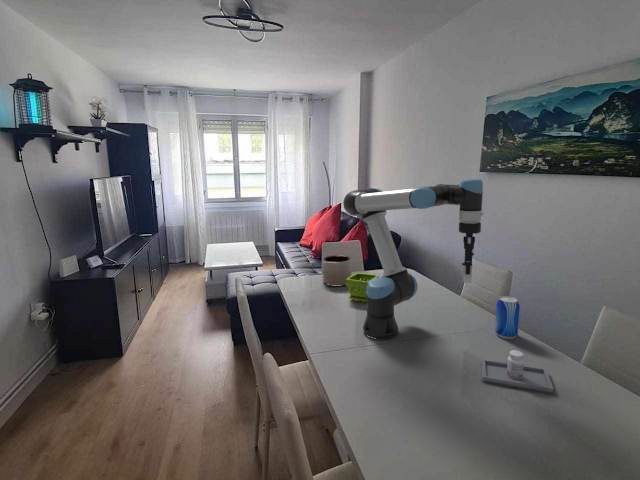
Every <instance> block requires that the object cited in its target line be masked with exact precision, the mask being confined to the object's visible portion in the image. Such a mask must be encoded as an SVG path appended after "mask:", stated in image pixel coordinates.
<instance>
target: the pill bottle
mask: <svg viewBox="0 0 640 480" xmlns="http://www.w3.org/2000/svg"><path fill="white" fill-rule="evenodd" d="M508 355H509V356H508V357H507V363H508V364H507V375H508V376H509V377H510V378H512V379H516V380H520V379H522V378H523V368H524V365H525V360H524V353H523V352H522V351H520V350H517V349H513V350H510V351H509V354H508Z"/></svg>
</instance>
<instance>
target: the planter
mask: <svg viewBox="0 0 640 480" xmlns="http://www.w3.org/2000/svg"><path fill="white" fill-rule="evenodd" d="M352 275H353V274H352V258H351V257H350V256H348V255H343V254H342V255H341V254H336V255H328V256H325V257H323V258H322V277H323V279H322V281H323V284H325V283H326V284H329V285H345V286H347V285H346V279H347V278H349V277H350V276H352ZM326 284H325V285H326ZM329 285H328V286H329Z"/></svg>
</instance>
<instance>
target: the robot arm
mask: <svg viewBox="0 0 640 480" xmlns="http://www.w3.org/2000/svg"><path fill="white" fill-rule="evenodd" d="M483 184H484V182H483V180H481V179H478V178H472V179H471V178H469V179H468V178H467V179H461V180H460V183H459V184H445V183H444V184H443V183H439V184H433V185H430V186H421V187H420V186H419V187H416V188H415V187H413V188H405V189H395V190H387V191H386V190H385V191H383V190H382V189H379V188H373V187H372V188H371V187H370V188H365V189H363V188H362V189H356V190H350V192H348V193H346V195H345V196H344V198H343V204H342V205H343V209H344V210H345V212H346V213H347V214H348V215H350V216H353V217H358V216H360V217H361V219H362V222H364V223H366V225H367V227H368V229H369V234H370V235H371V238H372V242H373V243H374V247H375V250H376V253H377V255H378V258H379V262H380V264H381V268H382V270H383V274H382V276H381V277H379V278H374V279H372V280H370V281H369V282H368V284H367V290H366V295H367V303H366V316H365V319H364V322H363V325H362V332H363V331H364V333H365V334H366V335H368V336H370V337H373V338H376V339H388V340H391V339H390V338H392V339H394V338H396V337H397V336H398V334H399V327H398V322H397V321H396V317H395V306H396V305H399V304H401V303H403V302H406V301H409V300H410V299H411V298H413V297H414V296H415V295H416V293H417V292H418V282H417V279H416V277H415V276H414V275H413V274H412V273H409V271H408V269H407V268H406V267H404V266H403V265H402V262H401V260H400V257H399V254H398V251H397V248H396V245H395V242H394V239H393V236H392V234H391V230H390V227H389V225H388V223H387V222H388V221H387V218H386V215H387V211H393V210H394V211H395V210H409V209H410V210H411V209H420V210H421V209H422V210H426V209H429V208H433V207H439V206H445V205H453V206H454V205H455V206H459V211H458V221H459V222H458V232H459V233H461V234H465V236H463V240H462V241H463V249H464V260H463V261H464V262H462V264H461V266H463V277H462V278H463V280H462V281H463V283H466V284H472V277H473V276H472V275H473V257H474V255H475V254H474V252H473V251H474V249H475V243H476V236H474V234H479V233H481V231H482V222H481V221H482V216H484V212H482V210H483V208H482V207H483V195H484V188H483V187H484V185H483ZM364 333H363V334H364ZM366 335H365V336H366ZM393 337H394V338H393ZM376 339H375V340H376Z"/></svg>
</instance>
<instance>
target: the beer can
mask: <svg viewBox="0 0 640 480" xmlns="http://www.w3.org/2000/svg"><path fill="white" fill-rule="evenodd" d="M518 301H519V300H518V299H517V298H516V297H513V296H508V295H505V296H504V295H502V296H500V297H499V299H498V300H497V301H496V305H495V306H496V307H495V325H494V333H495V334H496V336H497V337H500V338H501V339H504V340H513V339H515V338H516V337H517V336H518V334H519V322H520V310H521V309H520V307H521V305H520V303H519V302H518Z"/></svg>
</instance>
